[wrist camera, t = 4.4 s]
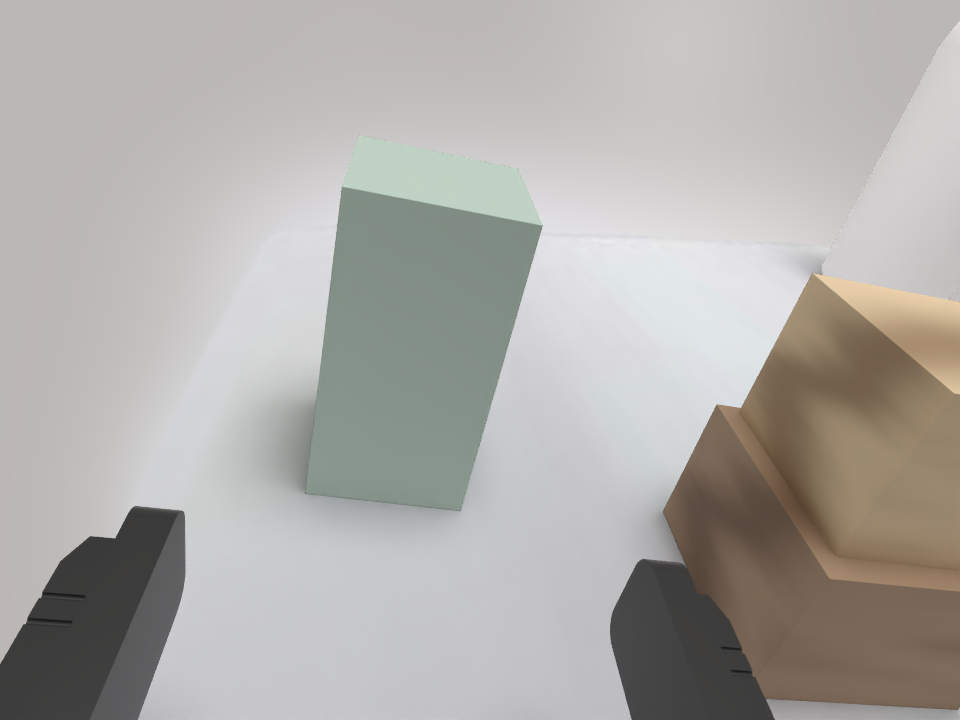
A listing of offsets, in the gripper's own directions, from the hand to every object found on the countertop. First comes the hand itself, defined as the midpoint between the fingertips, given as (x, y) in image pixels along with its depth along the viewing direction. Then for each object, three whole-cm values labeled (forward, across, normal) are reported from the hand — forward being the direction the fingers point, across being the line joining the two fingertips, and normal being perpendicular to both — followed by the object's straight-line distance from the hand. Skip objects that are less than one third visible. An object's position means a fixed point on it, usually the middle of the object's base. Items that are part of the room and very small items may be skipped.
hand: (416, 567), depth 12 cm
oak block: (+6, -14, +1) cm, 15 cm away
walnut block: (+5, -14, +6) cm, 16 cm away
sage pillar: (+10, 0, +6) cm, 12 cm away
